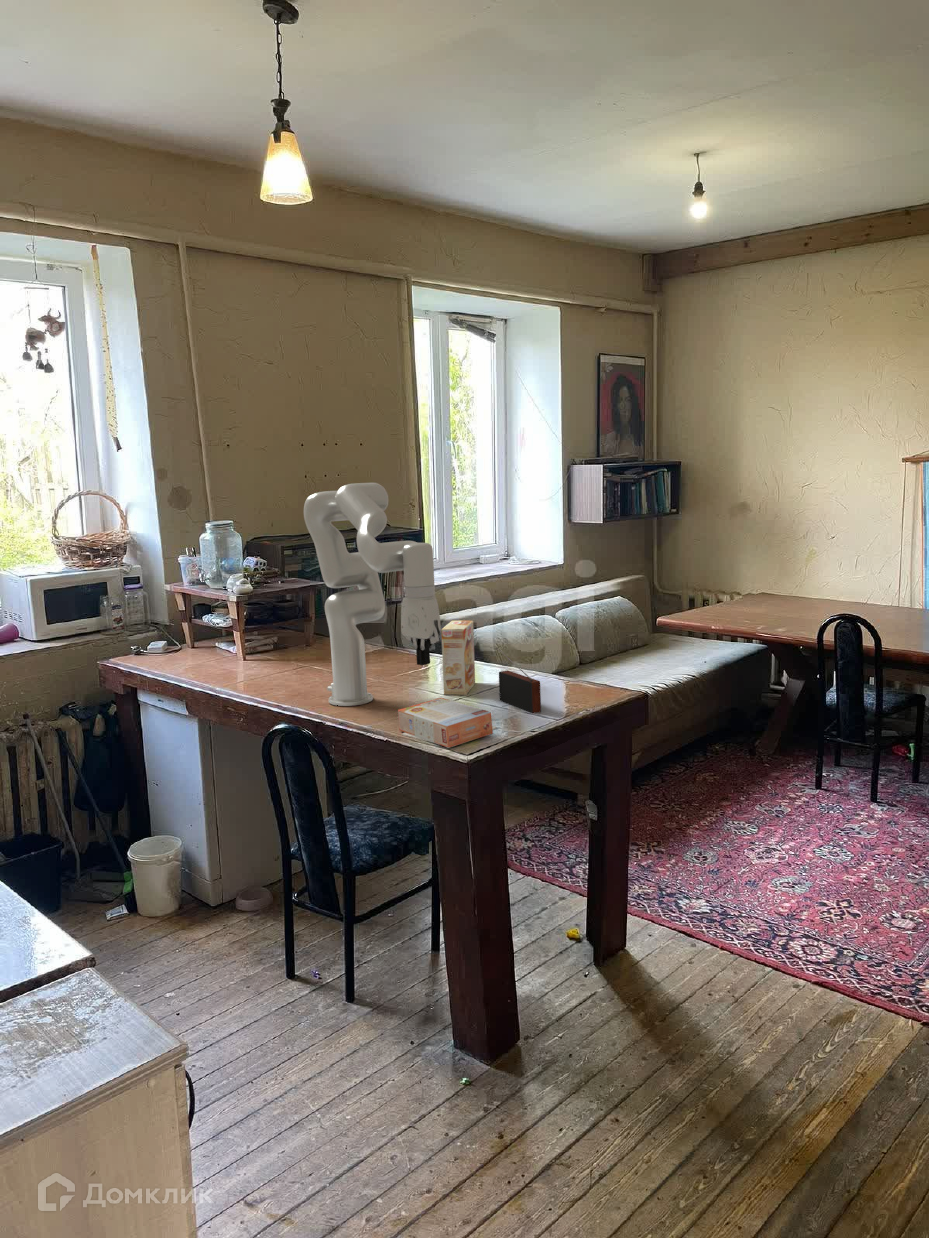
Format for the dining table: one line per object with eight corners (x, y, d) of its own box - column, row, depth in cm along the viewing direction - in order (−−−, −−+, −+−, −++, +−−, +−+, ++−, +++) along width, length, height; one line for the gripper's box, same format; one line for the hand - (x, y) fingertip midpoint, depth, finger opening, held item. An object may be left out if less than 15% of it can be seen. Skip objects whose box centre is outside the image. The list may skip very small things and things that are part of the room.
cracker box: (398, 731, 231) (448, 749, 214) (396, 708, 230) (446, 724, 213) (443, 718, 239) (494, 734, 223) (441, 696, 238) (492, 710, 221)
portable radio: (542, 712, 244) (540, 657, 241) (532, 713, 242) (531, 658, 240) (505, 697, 260) (503, 646, 257) (495, 699, 258) (494, 647, 256)
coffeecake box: (466, 695, 264) (464, 629, 260) (442, 695, 265) (439, 629, 262) (476, 682, 278) (474, 619, 275) (453, 682, 280) (451, 619, 276)
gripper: (388, 592, 231) (392, 663, 234) (431, 596, 221) (434, 670, 224) (409, 588, 236) (413, 658, 239) (452, 592, 226) (455, 664, 229)
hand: (423, 663), depth 231 cm, fingers closed
